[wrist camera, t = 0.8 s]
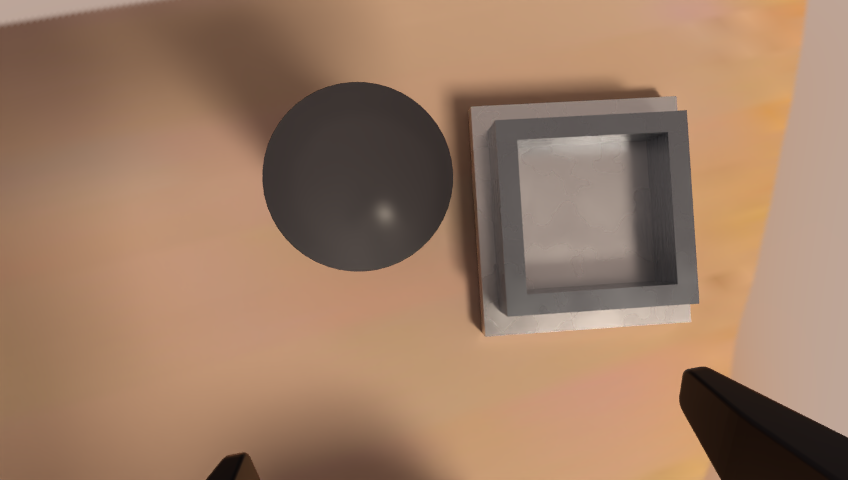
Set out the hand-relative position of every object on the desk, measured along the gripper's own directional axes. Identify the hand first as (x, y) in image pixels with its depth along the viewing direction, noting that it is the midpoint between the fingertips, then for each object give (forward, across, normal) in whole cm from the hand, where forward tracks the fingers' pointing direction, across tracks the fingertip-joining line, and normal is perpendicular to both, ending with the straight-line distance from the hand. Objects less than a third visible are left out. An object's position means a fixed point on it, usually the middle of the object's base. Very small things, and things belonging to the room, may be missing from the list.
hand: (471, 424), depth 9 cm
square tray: (+15, -9, +4) cm, 18 cm away
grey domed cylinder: (+16, +2, +2) cm, 16 cm away
